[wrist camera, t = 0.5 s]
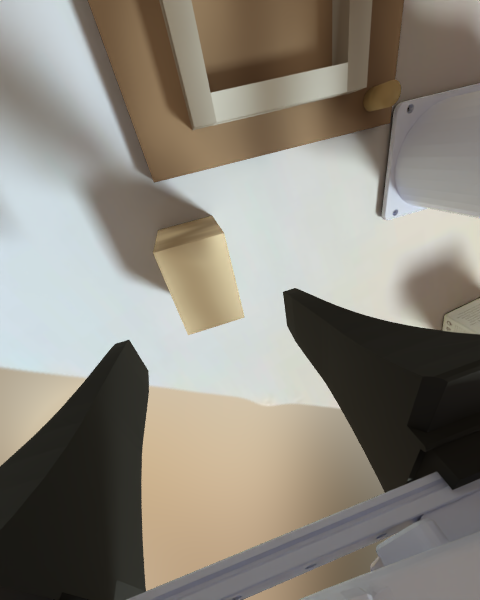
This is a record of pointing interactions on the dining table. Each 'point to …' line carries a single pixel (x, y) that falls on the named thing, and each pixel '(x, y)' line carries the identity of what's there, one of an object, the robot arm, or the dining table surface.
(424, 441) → the robot arm
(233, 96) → the keyed socket board
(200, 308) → the beech block
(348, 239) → the dining table surface
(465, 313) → the skincare box
